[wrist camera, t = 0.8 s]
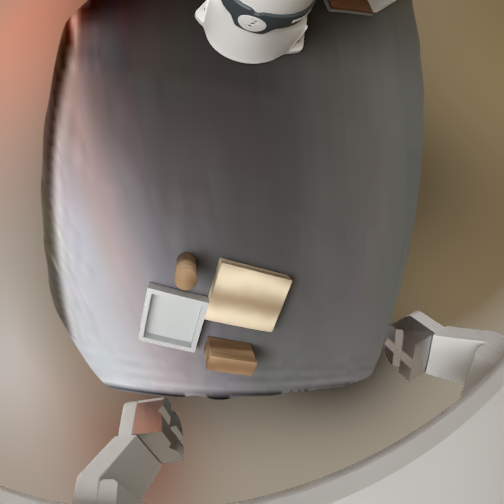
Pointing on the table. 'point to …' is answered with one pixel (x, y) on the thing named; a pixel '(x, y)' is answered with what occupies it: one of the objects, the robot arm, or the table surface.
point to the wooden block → (229, 356)
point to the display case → (357, 6)
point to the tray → (172, 317)
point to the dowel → (186, 271)
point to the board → (246, 295)
